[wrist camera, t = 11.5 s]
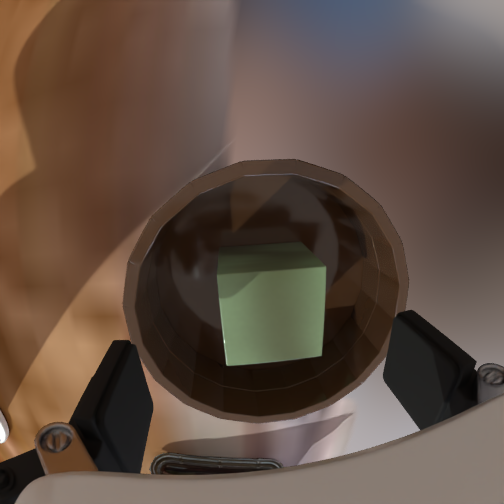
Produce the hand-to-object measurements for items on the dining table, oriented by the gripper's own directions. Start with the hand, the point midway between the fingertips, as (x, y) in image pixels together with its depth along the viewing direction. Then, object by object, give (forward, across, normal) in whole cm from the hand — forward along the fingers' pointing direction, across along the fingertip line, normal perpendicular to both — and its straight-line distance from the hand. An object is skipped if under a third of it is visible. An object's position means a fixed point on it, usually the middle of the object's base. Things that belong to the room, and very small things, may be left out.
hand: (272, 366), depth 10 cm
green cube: (+7, -1, 0) cm, 8 cm away
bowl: (+8, -1, 0) cm, 8 cm away
